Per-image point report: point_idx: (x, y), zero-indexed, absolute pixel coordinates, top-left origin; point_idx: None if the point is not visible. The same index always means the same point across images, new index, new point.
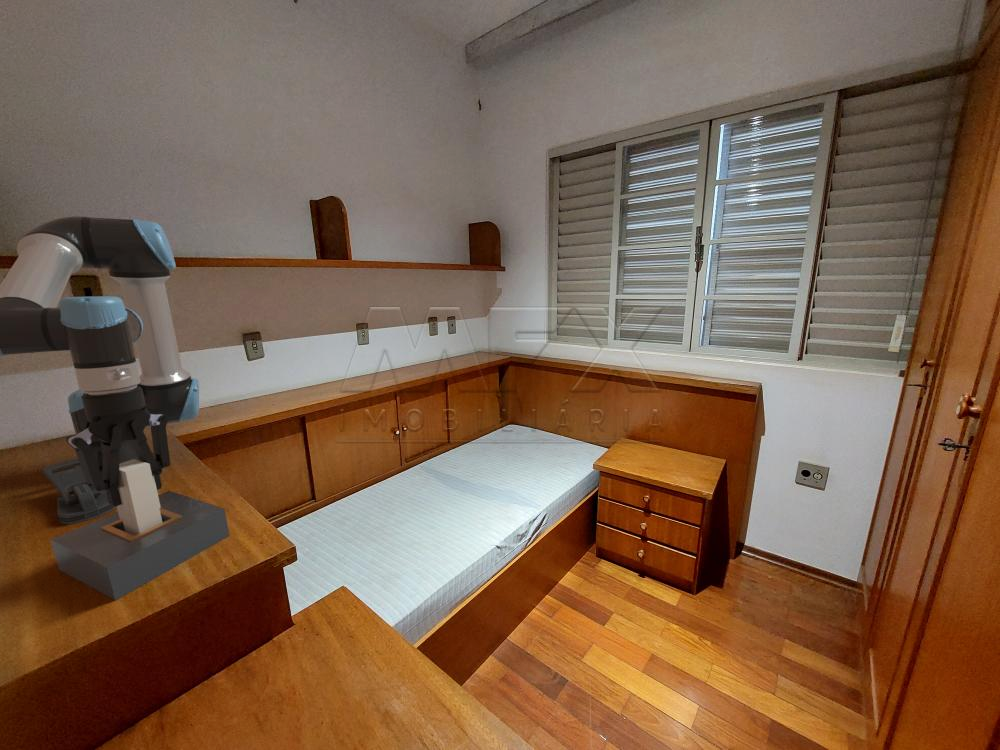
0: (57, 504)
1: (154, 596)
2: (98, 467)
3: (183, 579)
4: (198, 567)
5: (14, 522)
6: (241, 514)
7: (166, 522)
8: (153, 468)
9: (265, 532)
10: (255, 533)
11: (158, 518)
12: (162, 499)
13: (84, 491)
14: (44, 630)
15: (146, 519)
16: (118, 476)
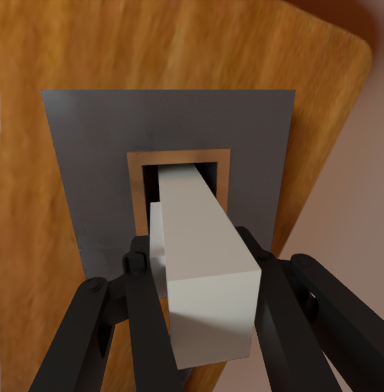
0: (183, 387)
1: (236, 35)
2: (354, 328)
3: (191, 31)
4: (159, 41)
5: (213, 381)
6: (14, 153)
7: (160, 156)
8: (143, 281)
9: (6, 13)
10: (26, 37)
11: (164, 181)
12: (115, 270)
13: None
14: (320, 117)
15: (188, 183)
16: (261, 279)
